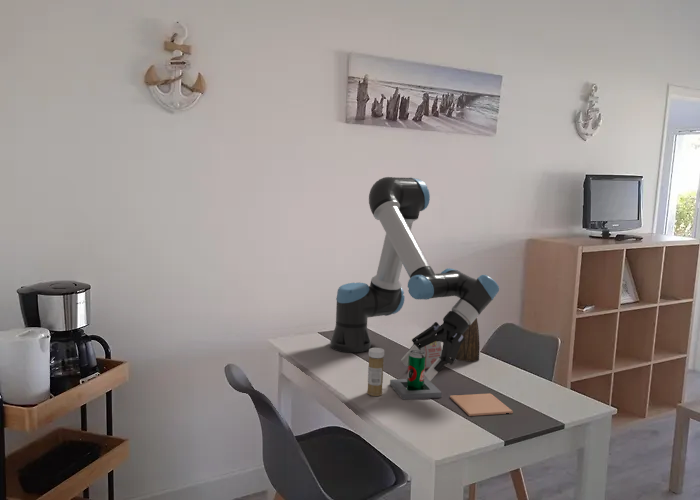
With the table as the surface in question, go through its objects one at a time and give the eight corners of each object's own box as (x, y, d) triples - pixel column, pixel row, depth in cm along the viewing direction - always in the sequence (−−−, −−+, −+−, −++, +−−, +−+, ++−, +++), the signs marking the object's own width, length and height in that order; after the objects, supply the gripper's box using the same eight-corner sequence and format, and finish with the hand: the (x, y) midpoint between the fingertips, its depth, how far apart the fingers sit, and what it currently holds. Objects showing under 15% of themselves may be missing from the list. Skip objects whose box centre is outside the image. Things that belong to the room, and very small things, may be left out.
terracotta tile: (450, 397, 168) (450, 395, 168) (490, 395, 171) (490, 393, 171) (469, 416, 155) (469, 413, 155) (512, 413, 158) (512, 411, 158)
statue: (461, 362, 200) (465, 292, 198) (449, 357, 206) (452, 288, 204) (481, 360, 203) (485, 291, 201) (468, 355, 210) (472, 287, 208)
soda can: (422, 394, 169) (425, 355, 167) (405, 392, 170) (408, 353, 168) (424, 388, 174) (426, 350, 172) (407, 386, 175) (409, 348, 173)
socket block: (389, 384, 176) (390, 379, 176) (426, 382, 179) (426, 377, 179) (402, 399, 165) (402, 394, 165) (441, 397, 168) (441, 392, 167)
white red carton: (418, 365, 195) (420, 337, 194) (434, 363, 198) (436, 335, 197) (424, 368, 192) (426, 340, 191) (440, 366, 195) (442, 338, 194)
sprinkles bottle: (384, 392, 170) (386, 348, 168) (379, 397, 165) (382, 352, 164) (369, 389, 171) (371, 346, 169) (364, 395, 167) (366, 350, 165)
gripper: (492, 336, 165) (445, 393, 161) (444, 316, 187) (401, 364, 183) (478, 320, 162) (430, 376, 158) (431, 301, 184) (387, 350, 180)
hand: (414, 370), depth 170 cm, fingers open, 13 cm apart
